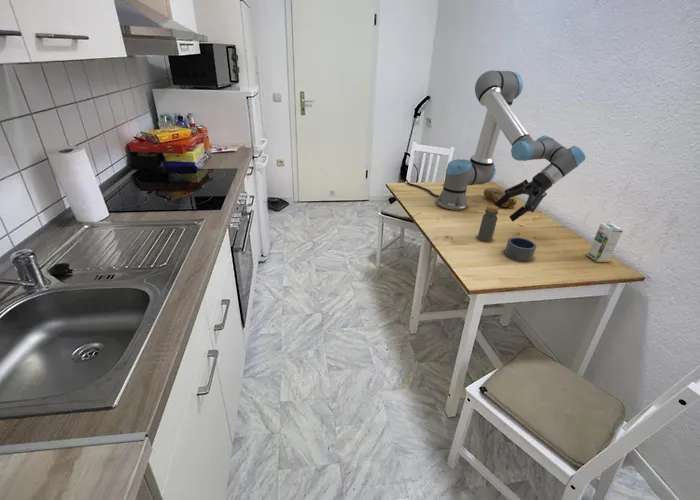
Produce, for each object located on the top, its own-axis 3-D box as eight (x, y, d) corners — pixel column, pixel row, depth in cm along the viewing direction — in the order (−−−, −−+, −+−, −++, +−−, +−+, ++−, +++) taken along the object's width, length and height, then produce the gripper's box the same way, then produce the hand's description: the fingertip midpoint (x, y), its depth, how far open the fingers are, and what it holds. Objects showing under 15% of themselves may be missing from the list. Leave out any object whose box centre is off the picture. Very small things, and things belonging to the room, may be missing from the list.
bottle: (492, 242, 154) (501, 210, 147) (478, 240, 155) (486, 208, 148) (490, 236, 159) (499, 205, 152) (476, 235, 160) (484, 203, 153)
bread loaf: (517, 210, 192) (504, 191, 207) (519, 198, 187) (506, 179, 202) (492, 214, 193) (480, 194, 208) (493, 201, 188) (482, 182, 203)
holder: (500, 254, 144) (504, 242, 142) (510, 246, 151) (513, 234, 149) (527, 264, 138) (531, 252, 136) (535, 255, 145) (540, 243, 143)
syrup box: (586, 255, 148) (599, 222, 141) (599, 255, 148) (613, 222, 142) (595, 262, 143) (610, 229, 136) (609, 262, 143) (624, 229, 137)
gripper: (570, 195, 137) (522, 231, 142) (533, 175, 159) (493, 207, 164) (562, 181, 134) (513, 218, 139) (525, 163, 156) (484, 196, 161)
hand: (502, 212), depth 151 cm, fingers open, 13 cm apart
